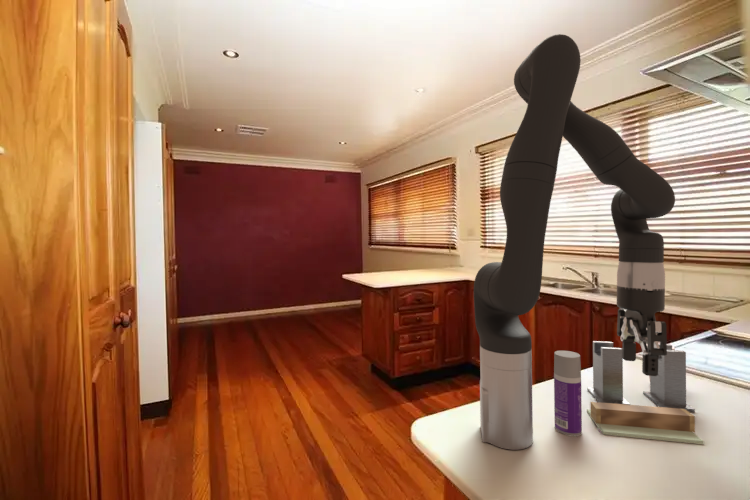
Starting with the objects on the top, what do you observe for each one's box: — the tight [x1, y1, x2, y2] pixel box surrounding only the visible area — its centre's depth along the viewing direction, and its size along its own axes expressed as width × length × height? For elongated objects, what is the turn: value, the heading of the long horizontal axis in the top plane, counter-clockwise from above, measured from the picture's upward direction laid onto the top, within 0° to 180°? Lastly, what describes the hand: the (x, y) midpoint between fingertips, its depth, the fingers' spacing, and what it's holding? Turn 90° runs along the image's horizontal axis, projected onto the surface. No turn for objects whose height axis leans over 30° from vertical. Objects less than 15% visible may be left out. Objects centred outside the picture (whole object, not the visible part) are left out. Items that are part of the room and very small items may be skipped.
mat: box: [586, 409, 705, 445], centre depth 69 cm, size 16×9×1 cm, turn 76°
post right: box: [642, 343, 696, 413], centre depth 79 cm, size 6×8×12 cm
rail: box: [589, 401, 696, 433], centre depth 69 cm, size 17×3×3 cm, turn 77°
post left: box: [586, 340, 631, 405], centre depth 82 cm, size 6×8×12 cm
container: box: [553, 350, 583, 437], centre depth 68 cm, size 5×5×15 cm
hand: (638, 367), depth 69 cm, fingers open, 8 cm apart
